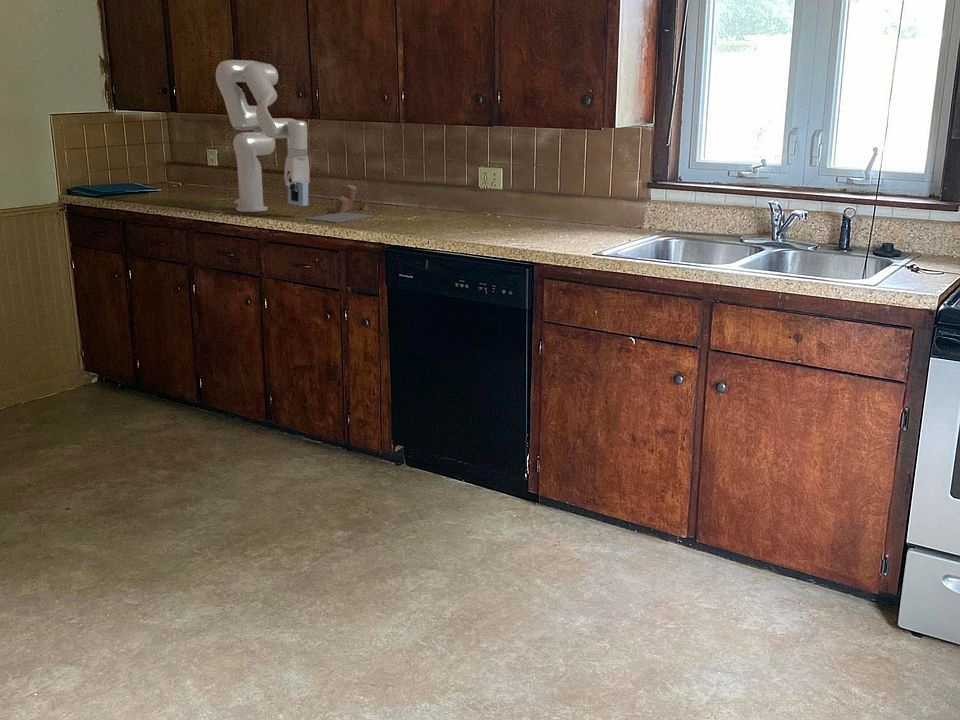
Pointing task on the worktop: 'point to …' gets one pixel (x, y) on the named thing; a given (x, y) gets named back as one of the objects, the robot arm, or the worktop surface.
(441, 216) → the worktop surface
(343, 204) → the wooden block set
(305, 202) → the slab
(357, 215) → the mat
